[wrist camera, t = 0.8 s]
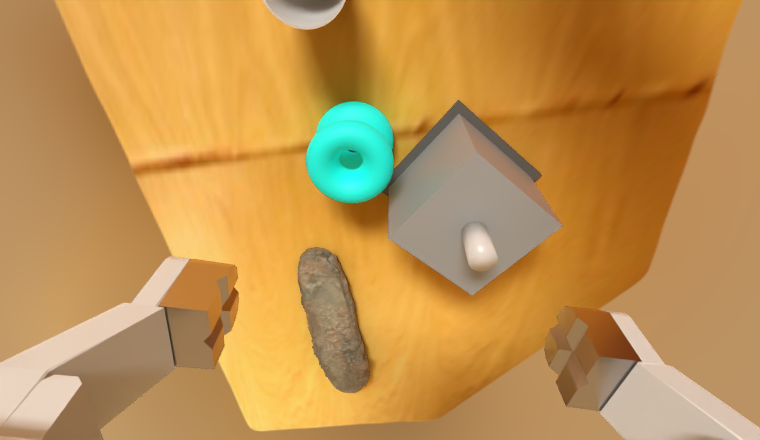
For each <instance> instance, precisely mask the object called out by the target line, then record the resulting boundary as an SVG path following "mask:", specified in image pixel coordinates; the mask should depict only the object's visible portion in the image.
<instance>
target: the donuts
mask: <svg viewBox="0 0 760 440" xmlns="http://www.w3.org/2000/svg"><path fill="white" fill-rule="evenodd" d="M393 143H394V139H393V131H392V128H391V125H390V123H389V121H388V120H387V118H386V117H385V116H384V115H383V114H382V113H381V112H380V111H379V110H378V109H376V108H375V107H373V106H371V105H369V104H367V103H363V102H357V101H350V102H344V103H341V104H338V105H336V106H334V107H332V108H331V109H329V110H328V111H327V112H326V113H325V114H324V116H323V117H322V118H321V120H320V122H319V124H318V127H317V131H316V135H315V136H314V137H313V139H312V141H311V142H310V144H309V147H308V150H307V155H306V166H307V171H308V174H309V176H310V179H311V180H312V182H313V184H314V185H315V186H316V187H317V188H318V190H320V191H321V192H322V193H323V194H324V195H326V196H327V197H329V198H331V199H333V200H336V201H339V202H343V203H360V202H365V201H368V200H370V199H372V198H374V197H376V196H377V195H379V194H380V193H381V192H382V191H383V190H384V189H385V188H386V186H387V185H388V183H389V182H390V180H391V177H392V174H393V170H394V157H393V153H392V149H393ZM348 150H352V151H356V152H357V153H354V152H350V151H348Z"/></svg>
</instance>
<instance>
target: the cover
mask: <svg viewBox="0 0 760 440" xmlns="http://www.w3.org/2000/svg"><path fill="white" fill-rule="evenodd" d="M561 227H563V225H562V224H561V222H560V221H559V219H558V218H557V216H556V215H555V213H554V212H553V210H552V209H551V207H550V206H549V204H548V203H547V201H546V200H545V198H544V196H543V195H542V193H541V192H540V190H539V189H538V187H537V186H536V184H535V183H534V181H533V180H532V178H531V177H530V176H529V175H528V174H527V173H526V172H525V171H524V170H523V169H521V168H520V167H519V166H518V165H517V164H516V163H515V162H514V161H512V160H511V159H510V158H509V157H508V156H507V155H506V154H504V153H503V152H502V151H501V150H500V149H499V148H498V147H497V146H495V145H494V144H493V143H492V142H491V141H490V140H489V139H488V138H486V137H485V136H484V135H483V134H482V133H481V132H480V131H478V130H477V129H476V128H475V127H474V126H473V125H472V124H471V123H469V122H468V121H467V120H466V119H465V118H464V117H463V116H461V115H460V114H458V115H457V116H456V117H455V118H454V119H453V120H452V121H451V122H450V123H449V124H448V125H447V126H446V127H445V129H444V130H443V131H442V132H441V133H440V134H439V135H438V136H437V137H436V138H435V139H434V140H433V141H432V142H431V143H430V144H429V145H428V147H427V148H426V149H425V150H424V151H423V152H422V153H421V154H420V155H419V156H418V157H417V158H416V159H415V160H414V161H413V162H412V163H411V165H410V166H409V167H408V168H407V169H406V170H405V171H404V172H403V173H402V174H401V175H400V176H399V177H398V178H397V179H396V180H395V182H394V183H393V184H392V185H391V186H390V187H389V216H388V239H390V240H391V241H393V242H394V243H396V244H397V245H399V246H400V247H402V248H403V249H404V250H406V251H407V252H409V253H410V254H412V255H413V256H415V257H416V258H418V259H419V260H421V261H422V262H424V263H425V264H426V265H428V266H429V267H431V268H432V269H434V270H435V271H437V272H438V273H440V274H441V275H443V276H444V277H446V278H447V279H448V280H450V281H451V282H453V283H454V284H456V285H457V286H459V287H460V288H462V289H463V290H465V291H466V292H468V293H469V294H471V295H474V294H475V293H476V292H478V291H479V290H480V289H482V288H483V287H484V286H486V285H487V284H488V283H489V282H491V281H492V280H493V279H495V278H496V277H497V276H499V275H500V274H501V273H503V272H504V271H505V270H506V269H508V268H509V267H510V266H512V265H513V264H514V263H516V262H517V261H518V260H519V259H521V258H522V257H523V256H525V255H526V254H527V253H529V252H530V251H531V250H533V249H534V248H535V247H536V246H538V245H539V244H540V243H542V242H543V241H544V240H546V239H547V238H548V237H550V236H551V235H552V234H553V233H555V232H556V231H557V230H559V229H560V228H561Z"/></svg>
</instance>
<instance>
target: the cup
mask: <svg viewBox="0 0 760 440" xmlns="http://www.w3.org/2000/svg"><path fill="white" fill-rule="evenodd" d="M345 1H346V0H263V2H264V3H265V5H266V6H267V8H268V9H269V10H270V11H271V13H272V14H273V15H274V16H275V17H277V18H278V19H279V20H280V21H282V22H283V23H285V24H287V25H289V26H291V27H294V28H298V29H305V30H309V29H316V28H319V27H322V26H324V25H326V24H328V23H329V22H331V21H332V20H333V19H334V18H335V17H336V16H337V15H338V13H339V12H340V11H341V9H342V7H343V5H344V3H345Z"/></svg>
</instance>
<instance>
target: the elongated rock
mask: <svg viewBox="0 0 760 440" xmlns="http://www.w3.org/2000/svg"><path fill="white" fill-rule="evenodd" d="M298 283H299V287H300V291H301V294H302V297H301V303H302V305H303V308H304V309H305V312H306V315H307V321H308V326H309V327H308V328H309V331H310V334H311V337H312V342H313V347H312V348H313V349H314V354H315V355H316V357H317V358H318V359H319V365H321V368H322V369H324V372H325V375H326V377H328V379H329V380H330V382H331V383H332V384H333V386H334V387H335V388H336V389H338V390H339V391H342V392H345V393H355V392H357V391H359V390H360V389H361V388H362V387H363V386H366V384H367V382H368V378H369V376H370V375H369V370H368V368H369V363H368V360H367V355H366V353H365V350H364V349H365V347H364V343H363V341H362V339H361V334H360V332H359V327H358V324H357V318H356V312H355V304H354V301H353V299H352V295H351V293H350V291H349V288H348V282H347V279H346V276H344V272H343V270H342V268H341V265H340V263H339V262H338V261H337V256H336V255H334V254H331V252H330V251H328V250H326V249H323V248H318V247H317V248H310V249H307V250H306V251H305V252H304V253H303V254H302V255H301V257H300V261H299V266H298Z"/></svg>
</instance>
